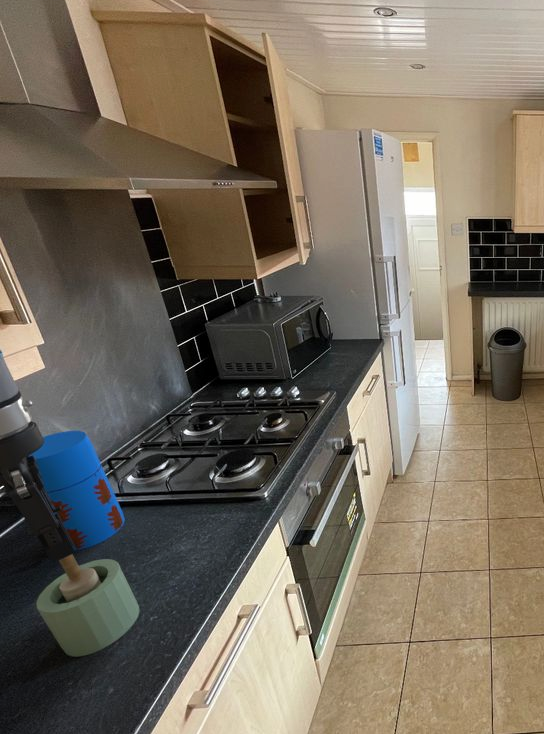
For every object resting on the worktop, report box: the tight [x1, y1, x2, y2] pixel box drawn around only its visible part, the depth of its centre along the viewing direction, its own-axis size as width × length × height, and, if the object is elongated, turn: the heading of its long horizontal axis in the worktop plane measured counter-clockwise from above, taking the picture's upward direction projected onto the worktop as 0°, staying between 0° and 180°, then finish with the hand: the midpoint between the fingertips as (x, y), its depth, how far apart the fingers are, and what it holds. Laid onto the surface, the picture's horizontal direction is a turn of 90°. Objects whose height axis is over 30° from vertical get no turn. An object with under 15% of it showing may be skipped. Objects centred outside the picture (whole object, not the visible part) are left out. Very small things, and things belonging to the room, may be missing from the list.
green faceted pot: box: [35, 558, 140, 658], centre depth 73 cm, size 10×10×11 cm
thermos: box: [29, 430, 126, 551], centre depth 90 cm, size 11×11×25 cm
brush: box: [58, 554, 102, 602], centre depth 69 cm, size 4×4×19 cm
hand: (62, 552), depth 69 cm, fingers closed on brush, 2 cm apart
